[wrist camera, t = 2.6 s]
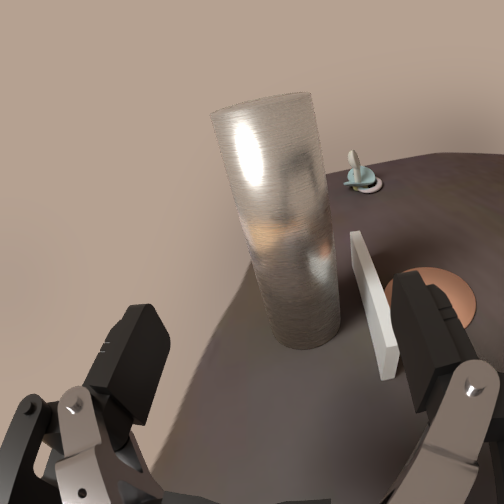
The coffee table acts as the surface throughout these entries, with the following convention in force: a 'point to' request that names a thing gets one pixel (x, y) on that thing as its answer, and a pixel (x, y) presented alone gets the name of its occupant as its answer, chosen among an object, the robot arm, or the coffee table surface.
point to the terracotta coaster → (446, 291)
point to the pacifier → (361, 176)
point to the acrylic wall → (375, 308)
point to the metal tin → (284, 212)
